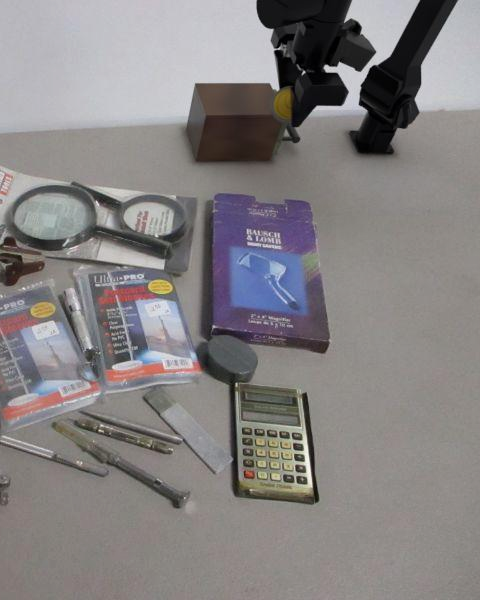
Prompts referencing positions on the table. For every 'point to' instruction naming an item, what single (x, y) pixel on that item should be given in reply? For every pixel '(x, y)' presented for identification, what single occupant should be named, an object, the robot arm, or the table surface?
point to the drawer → (292, 136)
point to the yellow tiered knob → (281, 105)
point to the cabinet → (232, 122)
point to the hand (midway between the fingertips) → (289, 114)
